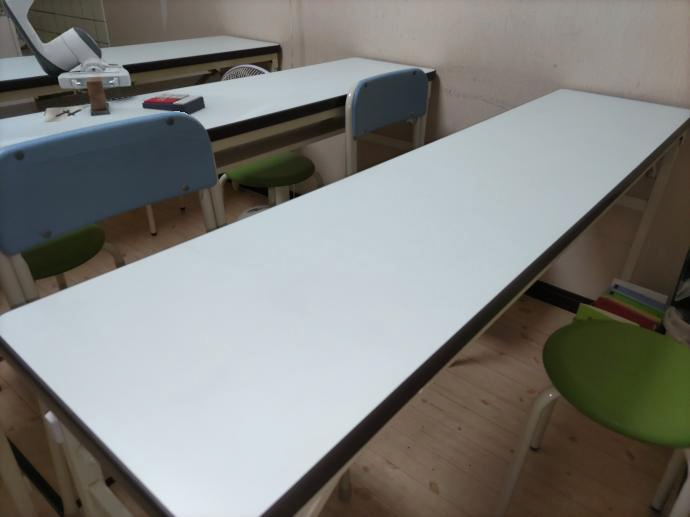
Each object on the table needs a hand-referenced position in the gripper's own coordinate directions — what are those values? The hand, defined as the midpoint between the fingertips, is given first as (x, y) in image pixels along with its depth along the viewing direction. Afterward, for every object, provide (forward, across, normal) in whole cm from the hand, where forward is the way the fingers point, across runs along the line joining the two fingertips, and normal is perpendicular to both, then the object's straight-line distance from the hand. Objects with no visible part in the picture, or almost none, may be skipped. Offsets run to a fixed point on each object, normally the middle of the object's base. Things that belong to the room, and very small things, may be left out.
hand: (95, 85), depth 152 cm
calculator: (+7, +21, +7) cm, 24 cm away
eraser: (+6, 0, +6) cm, 9 cm away
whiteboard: (+6, -5, +7) cm, 11 cm away
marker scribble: (+6, -8, +6) cm, 12 cm away
